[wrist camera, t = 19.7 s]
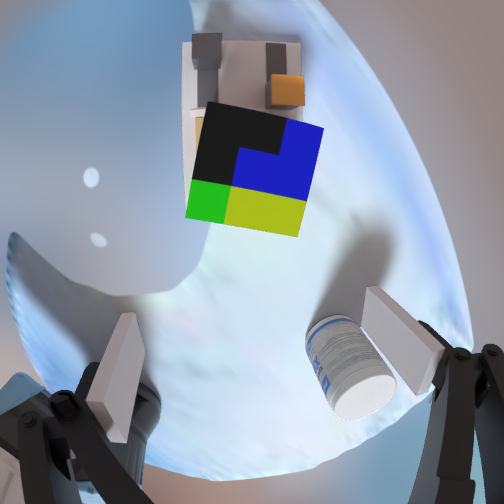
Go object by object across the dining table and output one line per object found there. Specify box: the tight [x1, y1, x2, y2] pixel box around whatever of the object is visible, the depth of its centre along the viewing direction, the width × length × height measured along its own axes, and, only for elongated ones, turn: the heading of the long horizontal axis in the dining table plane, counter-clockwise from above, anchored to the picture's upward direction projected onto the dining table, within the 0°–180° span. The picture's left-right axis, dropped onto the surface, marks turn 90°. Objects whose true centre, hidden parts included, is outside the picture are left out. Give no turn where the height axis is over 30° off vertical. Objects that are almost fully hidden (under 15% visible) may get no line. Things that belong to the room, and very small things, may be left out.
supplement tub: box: [305, 315, 397, 421], centre depth 39 cm, size 10×10×15 cm
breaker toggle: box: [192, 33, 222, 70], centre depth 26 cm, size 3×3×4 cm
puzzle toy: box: [185, 101, 324, 237], centre depth 29 cm, size 10×10×10 cm
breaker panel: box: [182, 40, 302, 209], centre depth 32 cm, size 14×21×2 cm, turn 1°
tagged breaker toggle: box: [265, 74, 305, 110], centre depth 28 cm, size 3×3×5 cm
